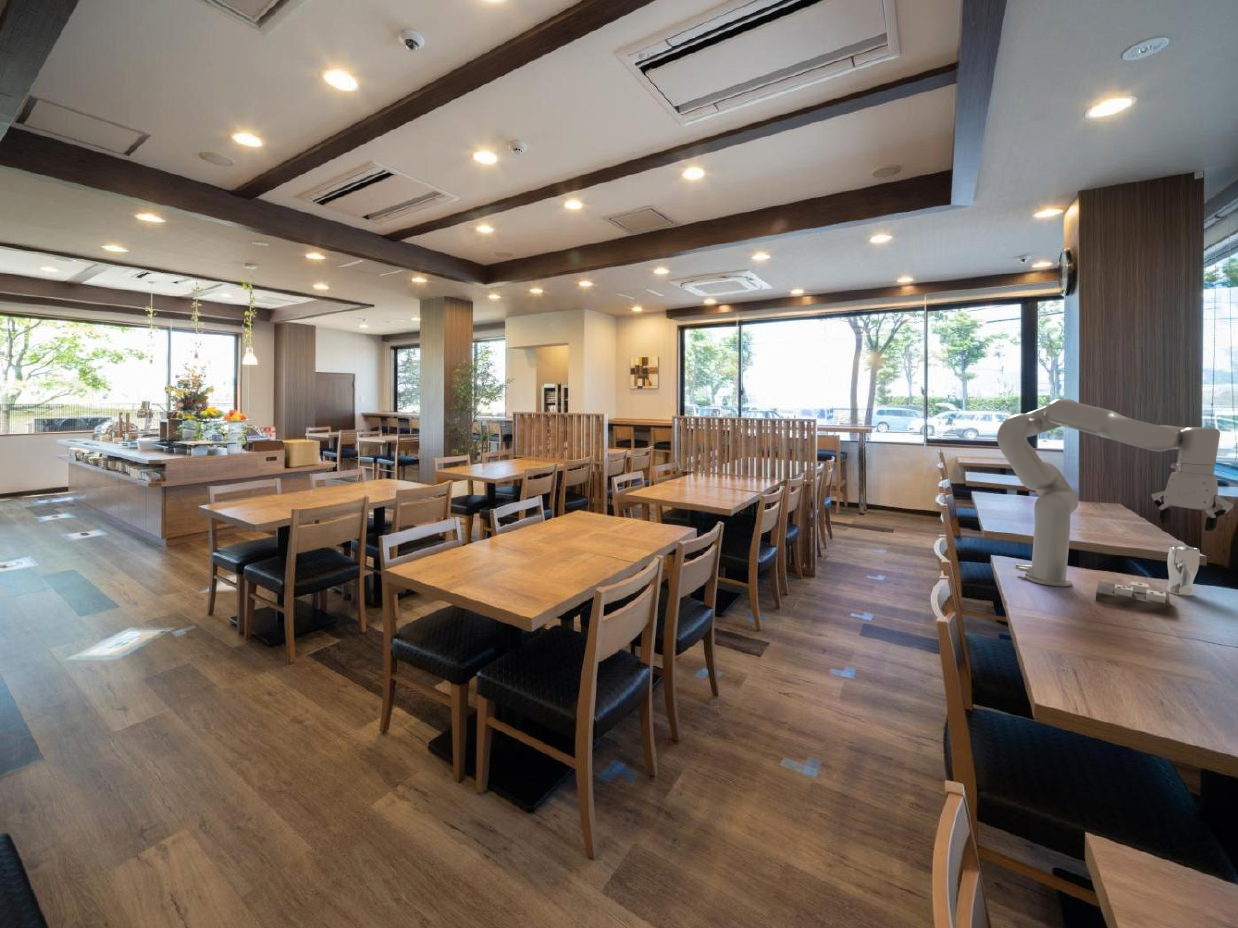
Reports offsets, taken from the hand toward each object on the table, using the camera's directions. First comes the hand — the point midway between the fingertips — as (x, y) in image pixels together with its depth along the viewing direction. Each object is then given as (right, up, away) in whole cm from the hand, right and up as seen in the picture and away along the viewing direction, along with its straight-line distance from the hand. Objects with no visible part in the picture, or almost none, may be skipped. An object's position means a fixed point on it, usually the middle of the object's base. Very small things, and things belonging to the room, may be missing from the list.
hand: (1186, 526), depth 156 cm
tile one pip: (-5, -22, +9) cm, 24 cm away
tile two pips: (-8, -23, +2) cm, 24 cm away
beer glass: (+14, -24, +15) cm, 31 cm away
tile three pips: (-13, -23, +6) cm, 27 cm away
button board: (-9, -24, +7) cm, 27 cm away
